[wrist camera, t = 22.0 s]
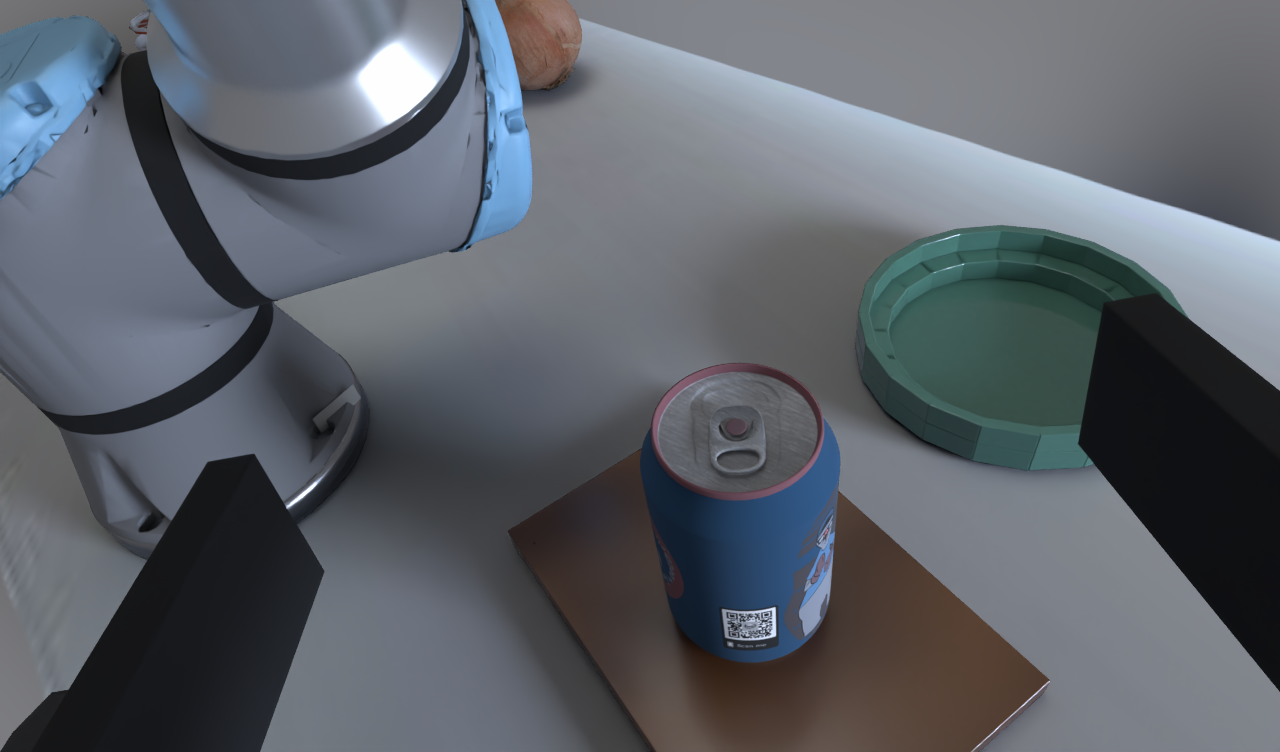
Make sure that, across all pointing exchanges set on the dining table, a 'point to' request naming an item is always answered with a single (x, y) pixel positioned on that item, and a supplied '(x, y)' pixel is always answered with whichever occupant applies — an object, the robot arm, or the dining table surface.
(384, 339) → the dining table surface
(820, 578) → the soda can
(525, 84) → the onion
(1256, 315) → the dining table surface
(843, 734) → the board
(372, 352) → the dining table surface
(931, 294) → the bowl
